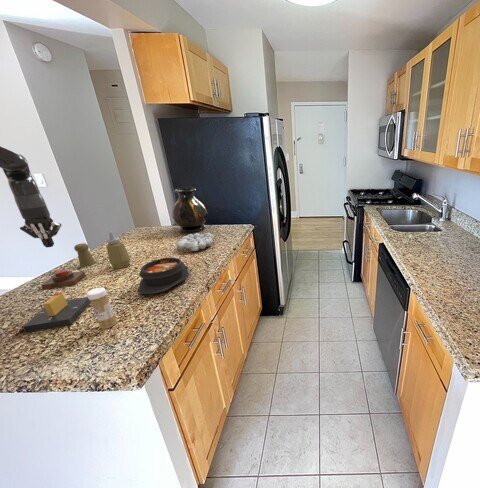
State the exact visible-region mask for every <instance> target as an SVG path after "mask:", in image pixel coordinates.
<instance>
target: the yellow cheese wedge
mask: <svg viewBox="0 0 480 488" xmlns="http://www.w3.org/2000/svg"><path fill="white" fill-rule="evenodd" d="M66 300H67V299H66V297H65V295H64V293H63V292H56V293H55V294H54V295H53V296H51V297H50V298H49V299H47V300H46V301H45V302H43V303H42V305H43V308H44V307H45V309H46V311H47V313H48V315H49V316H55V315H56V314H57V313H59V312H60V311H61V310H62V309H63V308H64V307H66V306H67V305H68V304H67V302H66Z"/></svg>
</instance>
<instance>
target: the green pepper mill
mask: <svg viewBox="0 0 480 488" xmlns="http://www.w3.org/2000/svg"><path fill="white" fill-rule="evenodd" d="M89 248H90V247H89V244H88V243H86V242H82V243H78V244H75V245H74V246H73V249H74V250H75V252H76V253H77V258H78V261H79V262H78V263H79V267H81V268H86V267H90V266H91V267H92V266H94V265H96V264H97V262H96V260H95V259H94V257H93V255H92V253H91V252H90V250H89Z"/></svg>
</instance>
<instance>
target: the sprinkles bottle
mask: <svg viewBox="0 0 480 488" xmlns="http://www.w3.org/2000/svg"><path fill="white" fill-rule="evenodd" d="M107 295H108V293H107V290H106V288H105V287H96V288H93V289H90V290H89V291H87V292H86V297H88V299H89V300H90V302H91V303H90V304H91V306H92V310H93V312H94V315H95V317H96V320H97V321H98V324H99V328H100V329H102V330H105V329H109V328H113V327H114V326H115V325H116V324H117V322H118V321H117V318H116V316H115V313H114V310H113V308H112V304H111V302H110V300H109V298H108V297H109V296H107Z"/></svg>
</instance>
